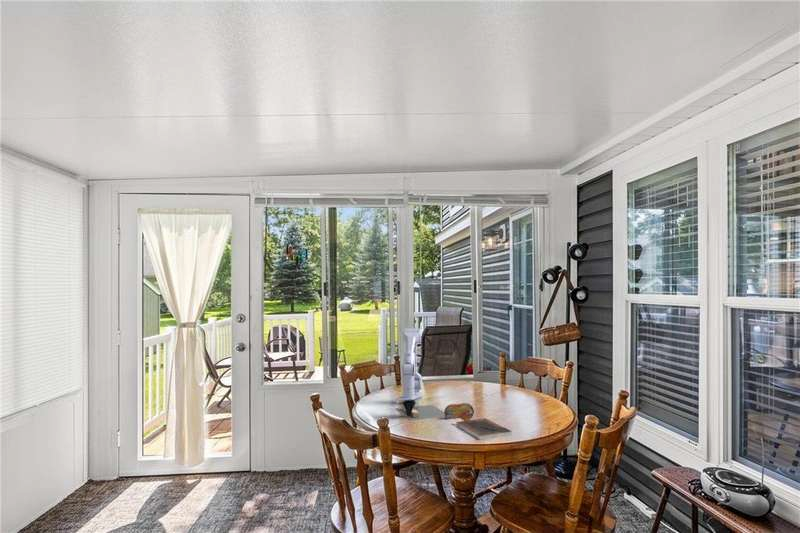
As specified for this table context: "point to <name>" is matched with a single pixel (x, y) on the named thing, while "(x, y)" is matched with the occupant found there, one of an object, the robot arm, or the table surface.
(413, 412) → the link
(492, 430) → the picture frame
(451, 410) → the tin
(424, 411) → the board
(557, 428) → the table surface
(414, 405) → the keeper
